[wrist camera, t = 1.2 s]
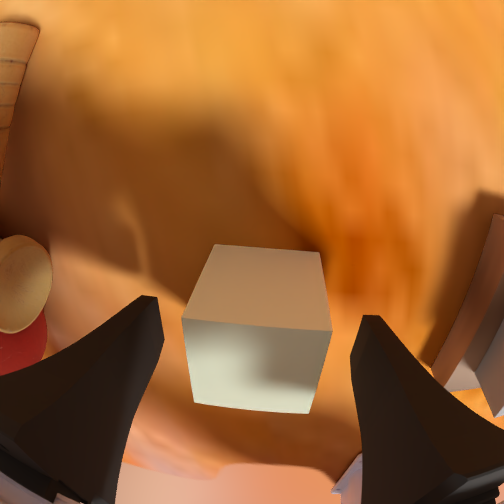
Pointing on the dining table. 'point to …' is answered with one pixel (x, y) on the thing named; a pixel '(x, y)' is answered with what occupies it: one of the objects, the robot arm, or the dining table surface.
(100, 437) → the robot arm
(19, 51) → the kendama
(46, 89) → the dining table surface
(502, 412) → the slate cube
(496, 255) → the walnut slab
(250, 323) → the sage block
